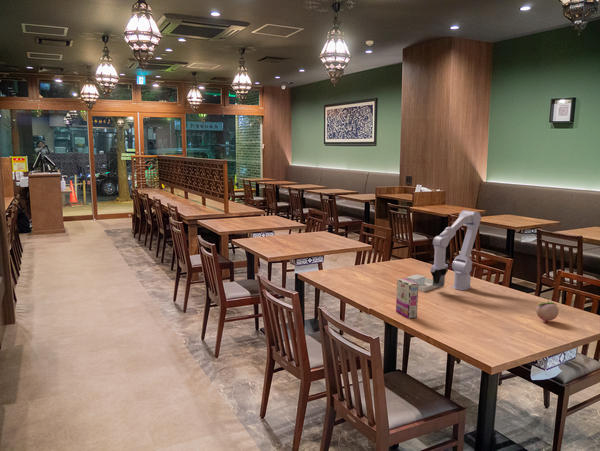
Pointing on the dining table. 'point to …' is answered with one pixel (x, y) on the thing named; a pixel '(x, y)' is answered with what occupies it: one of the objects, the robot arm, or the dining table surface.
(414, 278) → the plain white rectangular box
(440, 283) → the metal block
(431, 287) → the tote
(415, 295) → the candy bar box
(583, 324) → the dining table surface
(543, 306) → the decorative fruit
